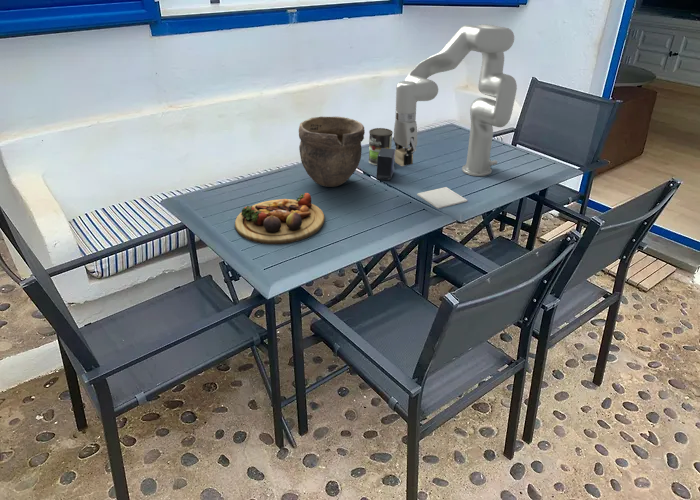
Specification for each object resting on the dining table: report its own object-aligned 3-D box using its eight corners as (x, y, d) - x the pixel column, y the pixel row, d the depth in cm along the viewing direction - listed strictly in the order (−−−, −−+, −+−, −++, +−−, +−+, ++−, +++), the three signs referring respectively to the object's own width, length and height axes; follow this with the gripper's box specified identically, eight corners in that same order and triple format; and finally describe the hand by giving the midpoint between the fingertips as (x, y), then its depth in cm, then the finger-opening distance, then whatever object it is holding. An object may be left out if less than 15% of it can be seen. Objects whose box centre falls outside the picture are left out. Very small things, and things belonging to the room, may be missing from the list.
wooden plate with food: (298, 197, 215) (297, 177, 211) (341, 228, 192) (340, 207, 188) (222, 218, 201) (218, 198, 197) (258, 255, 177) (255, 233, 173)
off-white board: (445, 188, 222) (446, 186, 222) (467, 201, 212) (467, 200, 212) (417, 194, 217) (417, 193, 217) (437, 208, 206) (437, 207, 206)
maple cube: (405, 159, 215) (406, 147, 212) (412, 163, 211) (413, 151, 208) (394, 162, 213) (395, 149, 210) (401, 166, 209) (402, 153, 206)
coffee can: (381, 167, 242) (382, 136, 235) (363, 161, 248) (364, 131, 240) (395, 161, 248) (397, 131, 241) (378, 155, 254) (379, 126, 247)
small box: (391, 180, 229) (392, 157, 224) (375, 179, 230) (376, 156, 225) (394, 171, 238) (395, 148, 233) (379, 170, 239) (380, 147, 234)
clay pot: (375, 187, 223) (377, 127, 210) (320, 201, 211) (318, 139, 199) (342, 166, 242) (342, 111, 230) (290, 178, 231) (286, 120, 218)
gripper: (427, 120, 197) (424, 167, 206) (401, 108, 210) (400, 153, 219) (409, 123, 194) (407, 171, 204) (385, 111, 207) (384, 156, 217)
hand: (403, 161), depth 211 cm, fingers closed on maple cube, 4 cm apart
